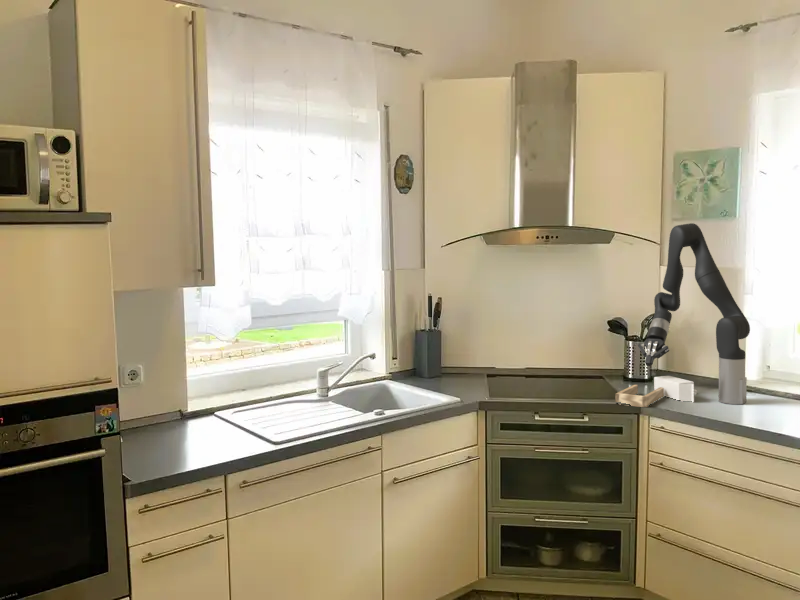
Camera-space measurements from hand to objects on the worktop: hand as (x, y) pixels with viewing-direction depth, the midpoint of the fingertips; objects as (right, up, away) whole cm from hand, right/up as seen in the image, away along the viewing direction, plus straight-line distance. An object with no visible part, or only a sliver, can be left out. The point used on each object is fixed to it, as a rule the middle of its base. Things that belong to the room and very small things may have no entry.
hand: (648, 364), depth 277 cm
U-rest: (-6, -14, -7) cm, 16 cm away
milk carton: (+7, -9, +6) cm, 13 cm away
